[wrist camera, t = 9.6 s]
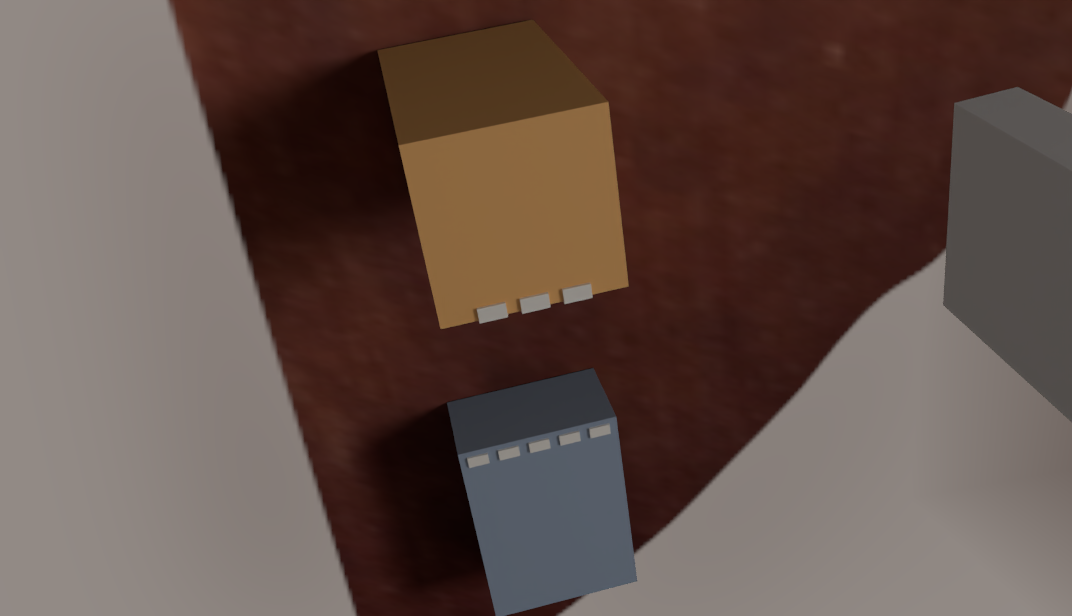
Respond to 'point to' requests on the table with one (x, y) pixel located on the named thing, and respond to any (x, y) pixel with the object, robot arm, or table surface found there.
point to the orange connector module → (506, 172)
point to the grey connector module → (545, 490)
